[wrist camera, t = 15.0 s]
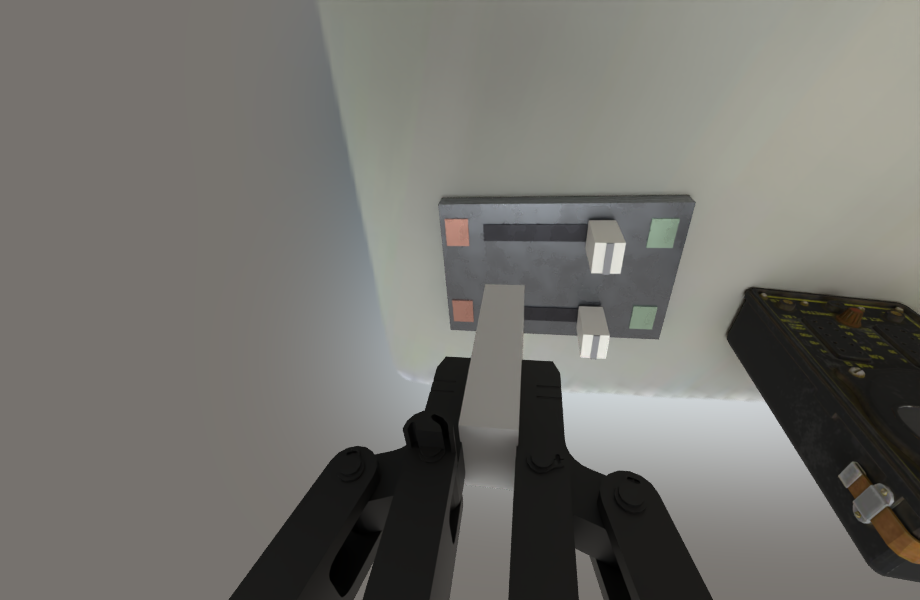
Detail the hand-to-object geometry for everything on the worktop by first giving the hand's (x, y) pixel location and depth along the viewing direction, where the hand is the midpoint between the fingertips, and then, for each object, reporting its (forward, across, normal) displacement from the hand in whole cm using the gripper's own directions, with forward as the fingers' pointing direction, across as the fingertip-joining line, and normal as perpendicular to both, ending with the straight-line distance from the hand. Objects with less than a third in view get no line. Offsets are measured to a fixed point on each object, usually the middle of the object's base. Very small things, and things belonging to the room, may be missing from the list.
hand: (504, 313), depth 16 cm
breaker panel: (+27, +4, -13) cm, 30 cm away
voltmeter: (+27, +31, -19) cm, 45 cm away
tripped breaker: (+24, +8, -18) cm, 31 cm away
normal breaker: (+24, +8, -8) cm, 27 cm away
